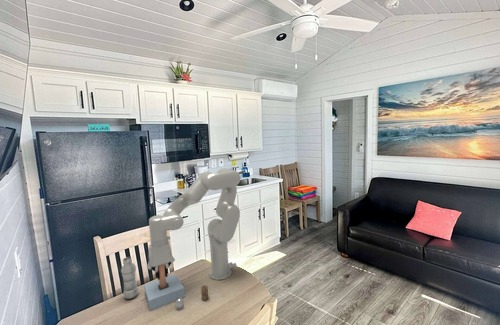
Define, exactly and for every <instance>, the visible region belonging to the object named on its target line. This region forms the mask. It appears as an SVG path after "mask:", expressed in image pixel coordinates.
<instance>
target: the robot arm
mask: <svg viewBox="0 0 500 325" xmlns="http://www.w3.org/2000/svg"><path fill="white" fill-rule="evenodd" d="M240 182H241V174H240V172H238V171H237V170H234V169H230V168H226V167H223V168H220V169H219V170H218V171H217V172H211V171H203V172H201V173H200V174H199V175H198V177H197V178H196V179H195V180H194V182H192V184H191V185H190V186H189V187H188V189H187V190H186V191H185V192H184V193H182V194H181V195H180V196H178V197H177V198H175V200H173V202H171V204H169V206H168V207H167V208H166V210H164V211H163V214H162V215H161V214H160V215H159V214H157V215H153V216H150V218H149V219H148V226H149V239H150V244H149V247H148V263H147V265H146V269H147V270H150V271H154V273H155V278H157V280H159V279H160V277H159V271H158V266H159V265H162V264H165V274H166V277H169V276H168V275H169V269H170V266H171V265H172V263H174V262H175V261H176V259H175V257H174V256H173V255H172V249H171V245H170V242H169V240H171V236H168V232H167V231H177V230H179V229H181V228H182V227H183V225H184V222H185V221H184V218H183V217H182V215H180V214H181V213H182V212H183V211H184V210H185V209H187V208H188V207H190V206H192V205H197V204H199V203H200V202H201V200H202V199H203V198H204V196H205V195H206V194H207V193H208V192H209V191H217V190H218V191H219V190H221V192H220V196H219V199H218V202H217V205H216V207H215V213H216V215H217V216H218V217H219V218H213V219H211V220H210V221H209V223H208V225H207V235H208V240H209V248H210V250H209V251H210V261H211V262H210V264H211V269H210V270H209V272H208V275H209V277H210V279H212V280H215V281H216V280H217V281H222V280H225V279H227V278H229V277H230V276H231V275H232V272H233V271H232V268H235V267H237V263H236V262H234V263H233V262H232V261H231V262H229V253H228V249H229V248H228V243H229V242H230V241H231V240H233V238H234V235H235V232H236V230H237V227H238V224H239V220H240V217H241V212H240V211H241V210H240V208H239V206H237V205H236V204H235V201H236V197H237V193H238V192H237V191H238V188H237V187H238V185H239V183H240ZM220 218H221V219H220Z"/></svg>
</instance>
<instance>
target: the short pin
mask: <svg viewBox="0 0 500 325" xmlns="http://www.w3.org/2000/svg"><path fill="white" fill-rule="evenodd" d="M175 300H176V301H175V308H176V310H177V311H182V310H183V309H184V299H183V297H177V298H176V299H175Z"/></svg>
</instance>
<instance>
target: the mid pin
mask: <svg viewBox="0 0 500 325" xmlns="http://www.w3.org/2000/svg"><path fill="white" fill-rule="evenodd" d="M200 293H201V300H202V301H203V302H207V301H209V287H208V285H206V284H205V285H202V286H201V287H200Z"/></svg>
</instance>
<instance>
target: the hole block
mask: <svg viewBox="0 0 500 325" xmlns="http://www.w3.org/2000/svg"><path fill="white" fill-rule="evenodd" d="M166 285H167V286H166V287H165V288H160V285H159V280H158V279H157V280H155V281H151V282H147V283H145V284H144V285H143V286H144V295H145V299H146V302H147V306H148V308H149V311H153V310H155V309H158V308H160V307H163V306H165V305H168V304H170V303H174V302H176V300H175V299H176V298H177V297H183V298H186V297H185V287H184V285H183V284H182V282H181V281H180V279H179V276H178V275H177V274H176V273H175V274H172V275H170V276H168V277H166Z"/></svg>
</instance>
